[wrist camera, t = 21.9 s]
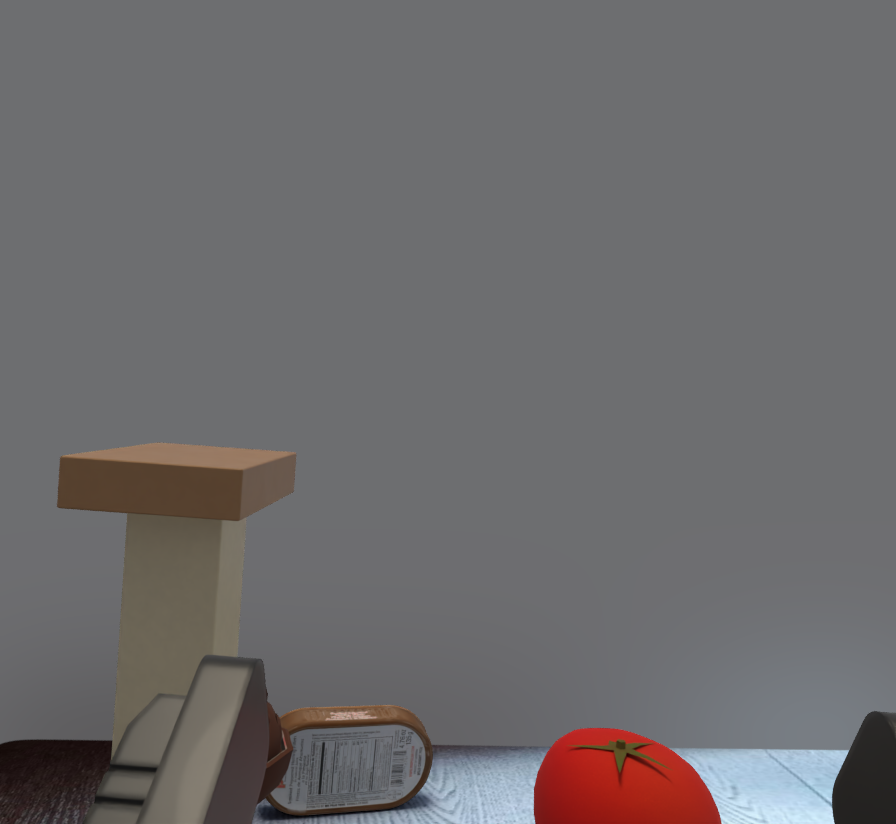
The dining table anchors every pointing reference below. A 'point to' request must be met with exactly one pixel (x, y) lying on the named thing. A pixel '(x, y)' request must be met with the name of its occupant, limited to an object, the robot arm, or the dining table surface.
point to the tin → (352, 759)
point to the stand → (175, 552)
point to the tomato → (618, 782)
